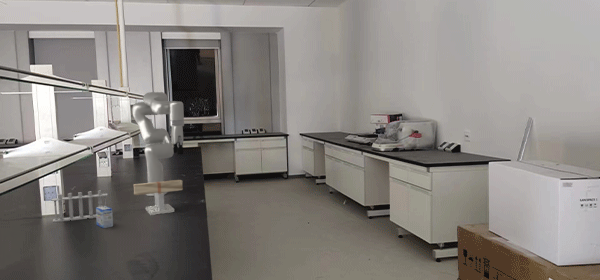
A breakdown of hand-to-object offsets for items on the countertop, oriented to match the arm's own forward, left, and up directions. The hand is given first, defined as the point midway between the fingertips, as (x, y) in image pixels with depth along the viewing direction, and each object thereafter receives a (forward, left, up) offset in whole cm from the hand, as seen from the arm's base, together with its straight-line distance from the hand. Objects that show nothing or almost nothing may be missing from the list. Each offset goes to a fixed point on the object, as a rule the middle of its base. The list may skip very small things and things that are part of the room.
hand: (178, 153), depth 249 cm
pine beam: (+16, -15, -18) cm, 28 cm away
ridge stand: (+16, -15, -28) cm, 35 cm away
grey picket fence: (+9, -51, -28) cm, 59 cm away
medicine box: (+32, -43, -28) cm, 60 cm away
